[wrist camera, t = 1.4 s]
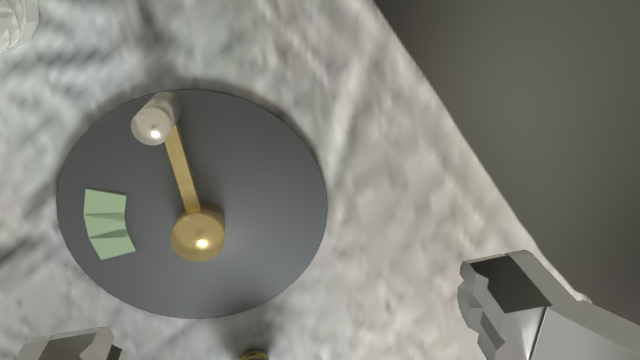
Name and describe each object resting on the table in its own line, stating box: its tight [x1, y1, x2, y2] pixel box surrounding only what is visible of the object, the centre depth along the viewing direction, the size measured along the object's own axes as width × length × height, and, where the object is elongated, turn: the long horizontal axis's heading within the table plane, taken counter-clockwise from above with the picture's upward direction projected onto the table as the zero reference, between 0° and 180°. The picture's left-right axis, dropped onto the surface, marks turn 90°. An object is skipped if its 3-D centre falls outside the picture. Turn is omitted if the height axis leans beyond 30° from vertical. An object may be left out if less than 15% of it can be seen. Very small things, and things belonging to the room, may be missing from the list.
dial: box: [56, 89, 328, 319], centre depth 36 cm, size 24×24×1 cm
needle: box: [131, 91, 226, 262], centre depth 30 cm, size 14×4×6 cm, turn 7°
